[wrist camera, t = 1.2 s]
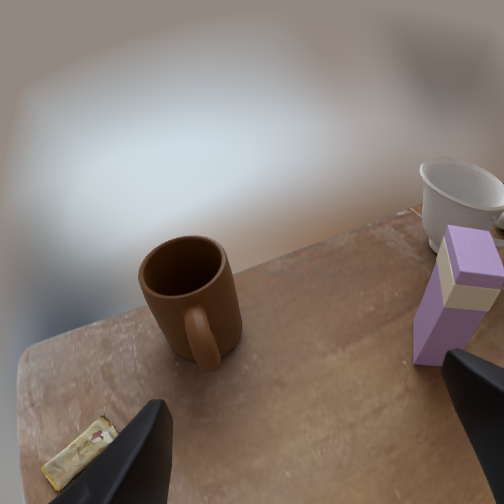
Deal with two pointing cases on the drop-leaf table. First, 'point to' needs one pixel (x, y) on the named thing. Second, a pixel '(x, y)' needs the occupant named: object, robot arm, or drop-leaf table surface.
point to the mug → (193, 298)
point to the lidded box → (456, 294)
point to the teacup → (459, 198)
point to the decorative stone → (503, 225)
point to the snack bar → (80, 453)
